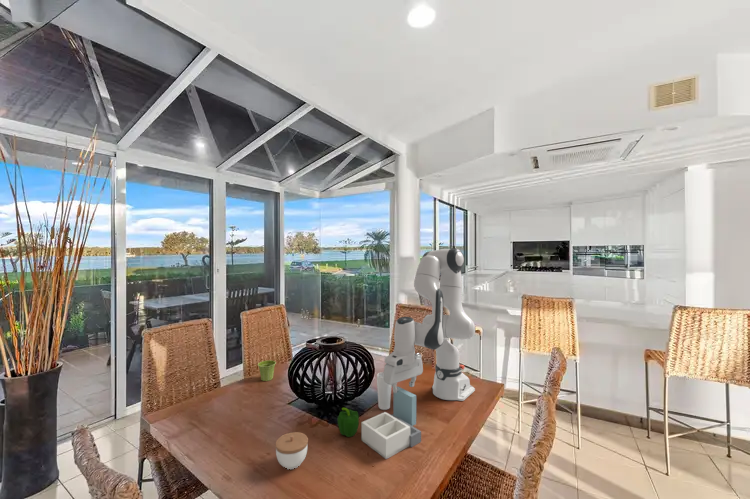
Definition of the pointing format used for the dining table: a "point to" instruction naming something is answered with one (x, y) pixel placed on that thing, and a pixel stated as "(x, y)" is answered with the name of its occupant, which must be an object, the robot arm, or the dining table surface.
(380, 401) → the drinking glass
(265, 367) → the plant pot
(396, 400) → the door
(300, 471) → the dining table surface
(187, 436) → the dining table surface
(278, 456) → the lidded jar
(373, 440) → the cabinet
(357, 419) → the bell pepper
